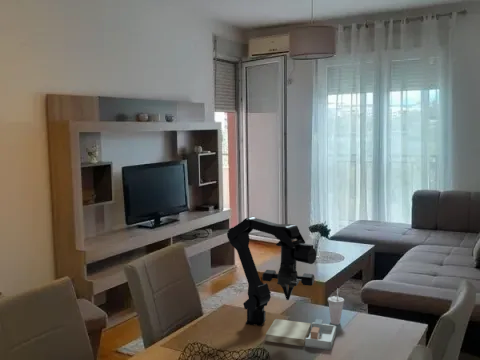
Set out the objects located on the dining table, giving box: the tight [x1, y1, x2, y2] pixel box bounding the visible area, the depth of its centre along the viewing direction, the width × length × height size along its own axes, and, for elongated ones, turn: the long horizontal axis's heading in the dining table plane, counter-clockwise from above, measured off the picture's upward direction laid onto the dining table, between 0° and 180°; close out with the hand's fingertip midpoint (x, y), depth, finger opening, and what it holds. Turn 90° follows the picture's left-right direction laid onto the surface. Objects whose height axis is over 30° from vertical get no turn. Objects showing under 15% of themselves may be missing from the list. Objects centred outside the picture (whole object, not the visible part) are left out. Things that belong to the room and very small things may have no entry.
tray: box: [304, 322, 337, 351], centre depth 181 cm, size 9×15×3 cm, turn 162°
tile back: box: [314, 318, 324, 336], centre depth 185 cm, size 4×4×2 cm
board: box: [264, 318, 312, 347], centre depth 185 cm, size 14×15×2 cm
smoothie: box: [327, 287, 345, 325], centre depth 196 cm, size 6×6×14 cm
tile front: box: [310, 326, 320, 339], centre depth 178 cm, size 4×4×2 cm
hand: (287, 299), depth 185 cm, fingers closed
